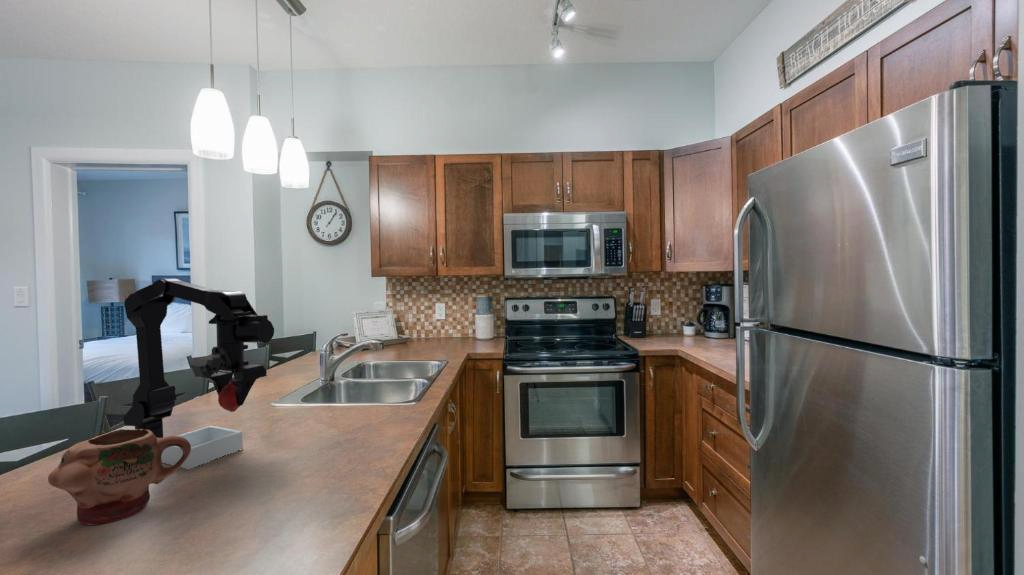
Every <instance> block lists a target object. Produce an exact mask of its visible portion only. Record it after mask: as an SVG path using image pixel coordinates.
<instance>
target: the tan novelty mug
mask: <svg viewBox="0 0 1024 575" xmlns="http://www.w3.org/2000/svg"><path fill="white" fill-rule="evenodd" d="M171 446H177V447H179V448H181V450H182V451H183V456H182V457H181V459H180V460H179V461H178V462H177V463H176V464H175V465H170V466H164V465H163V463H162V460H161V455H162V452H163V451H164V450H165V449H166V448H168V447H171ZM190 451H191V445H190V443H189V442H188V440H187V439H185V438H183V437H180V436H178V435H169V436H168V435H167V436H163V438H157V437H156V436H155V435H154V434H153V432H152V431H150V430H144V429H135V428H134V429H133V428H131V429H117V430H113V431H110V432H107V433H104V434H101V435H97V436H94V437H92V438H90V439H86V440H83V441H80V442H77V443H75V444H73V445H72V446H70V447H69V448H68V449H66V451H65V452H64V453H63V455H62V456H61V458H60V459H61V460H60V462H59V464H58V465H57V467H55V468H54V469H53V470H52V471H51V472H50V473H49V474H48V477H47V481H48V483H49V485H50V486H52V487H54V488H57V489H60V490H63V491H65V492H67V493H68V494H69V495H70V496H71V497H72V498H73V499H74V501H75V502H76V504H77V505H76V517H77V518H76V519H77V521H78V522H79V523H80V524H84V525H88V526H89V525H90V526H91V525H93V526H94V525H100V524H107V523H111V522H115V521H119V520H122V519H126V518H129V517H132V516H133V514H134V515H136V514H137V513H139V512H140V511H142V510H143V509H144V508H145V507H146V505H147V504H148V503H149V501H150V497H151V494H150V485H152V484H154V485H160V484H161V483H162V482H163V481H164V480H166V479H167V478H168V477H170V476H172V475H173V474H174V473H175V472H176V471H178V469H180V466H181V465H182V464H183V462H184V461H185V460H186V459H187V458H188V456H189V454H190Z"/></svg>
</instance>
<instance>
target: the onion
mask: <svg viewBox="0 0 1024 575" xmlns="http://www.w3.org/2000/svg"><path fill="white" fill-rule="evenodd" d="M217 401H218V404H219V406H220V407H221V408H222V409H224V410H226V411H228V412H230V413H235V412H236V411H237V410H238V409H239V408H240V407H241V406H238V405H237V400H236V392H235V386H234V385H233V384H232V383H231V382H229V384H228V385H226V386H225V387H224V388H223V389H222V390H221V392H220V393H219V396H218V398H217Z"/></svg>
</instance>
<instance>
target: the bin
mask: <svg viewBox="0 0 1024 575" xmlns="http://www.w3.org/2000/svg"><path fill="white" fill-rule="evenodd" d="M177 436H180V437H183V438H185V439H187V440H188V442H189V443H190V445H191V451H190V454H189V456H188V458H187V459H186V460H185V461H184V462H183V464H182V465H181V466H180V467H183V468H182V469H184V468H186V469H185V470H188V469H189V470H191V469H190V468H192V469H194V468H193V467H195V468H197V467H199V466H198V465H200V466H202V465H201V464H203V463H205V464H207V463H206V462H208V461H211V460H213V461H215V460H214V459H216V458H218V459H220V458H219V457H221V458H223V457H222V456H224V455H226V456H228V455H227V454H229V455H231V454H230V453H232V452H234V453H236V452H235V451H237V452H239V451H238V450H240V449H242V450H244V443H243V441H244V440H243V437H244V436H243V431H242V430H237V429H231V428H226V427H221V426H216V425H215V426H214V425H209V426H205V427H201V428H199V429H195V430H191V431H189V432H184V433H182V434H179V435H177ZM240 451H241V450H240ZM232 454H233V453H232ZM182 456H183V451H182V450H181V448H179V447H177V446H171V447H168V448H166V449H165V450H164V451H163V452H162V455H161V460H162V464H165V463H166V464H165V465H169V464H170V466H173V465H175V464H176V463H177V462H178V461H179V460H180V459H181V457H182ZM224 457H225V456H224ZM216 460H217V459H216ZM211 462H212V461H211ZM208 463H209V462H208ZM203 465H204V464H203ZM196 466H197V467H196ZM180 467H179V468H180Z"/></svg>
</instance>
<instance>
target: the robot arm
mask: <svg viewBox="0 0 1024 575" xmlns="http://www.w3.org/2000/svg"><path fill="white" fill-rule="evenodd" d="M246 295H247V294H245V293H244V292H243V291H238V290H225V289H224V290H220V289H219V290H218V289H217V290H216V289H213V288H209V287H205V286H201V285H198V284H194V283H190V282H187V281H183V280H180V279H178V278H174V277H173V278H159V279H157V280H156V281H154V282H153V283H152V284H149V285H148V286H147V285H146V286H145V287H142V288H140V289H138V290H136V291H134V292H133V293H130V294H129V295H128V296H127V297H126V298H125V299H124V304H123V305H124V310H125V315H126V318H127V319H128V321H129V322H130V324H131V325H132V326H134V327H135V334H136V346H137V348H136V349H137V362H138V373H139V374H138V376H139V384H138V386H137V388H136V390H135V392H134V393H133V395H132V406H131V407H130V408H129V410H128V411H127V412H126V413H125V415H124V416H123V417H122V420H123V423H124V426H126V427H134V429H144V430H150V431H152V432H153V434H154V435H155V436H156V437H157V438H163V437H164V421H163V419H165V418H168V417H171V416H172V413H173V410H174V409H173V408H174V407H175V404H176V401H177V396H176V386H175V385H170V384H169V383H168V381H167V380H165V370H164V369H165V368H164V359H163V358H164V357H163V356H164V355H163V354H164V353H163V345H162V343H163V342H162V330H161V327H162V326H161V325H162V324H163V322H164V320H165V319H166V317H167V315H168V306H170V305H171V304H172V303H174V302H175V301H176V298H178V299H180V300H184V301H188V302H191V303H193V304H194V303H195V304H198V305H201V306H203V307H204V308H205V309H206V310H207V311H208V312H210V313H212V314H214V317H213V318H211V319H210V320H209V321H208V324H209V325H210V324H211V325H215V326H216V346H212V348H211V354H208V355H206V356H203V357H202V358H200V359H198V360H195V361H194V362H192V363H191V364H190V367H191V369H192V372H193V374H194V377H196V378H198V377H199V378H202V379H206V380H208V381H209V382H211V383H212V384H213V386H214V388H215V391H216V393H217V396H218V397H219V393H220V392H221V390H222V389H223V388H224V387H225V386H226V385H228V384H229V382H231V383H232V384H233V385H234V386H235V392H236V400H237V405H238V406H240V407H241V406H243V405H244V403H245V401H246V399H247V397H248V396H249V393H250V391H251V389H252V387H253V385H254V384H255V383H256V381H257V380H258V379H260V378H264V377H265V378H266V377H267V376H268V372H267V371H268V370H267V367H266V366H265V365H264V364H257V363H256V364H255V363H253V364H249V360H245V350H247V349H249V344H245V343H254V344H255V343H258V344H266V343H270V341H271V340H272V339H273V338H274V335H275V327H274V326H273V325H274V324H273V323H272V322H271V320H269V318H268V317H269V316H268V315H267V314H260V315H258V313H257V312H256V310H255V308H254V307H253V305H252V304H251V303H250V302H249V300H248V298H247V296H246ZM233 378H234V379H233Z"/></svg>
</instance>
